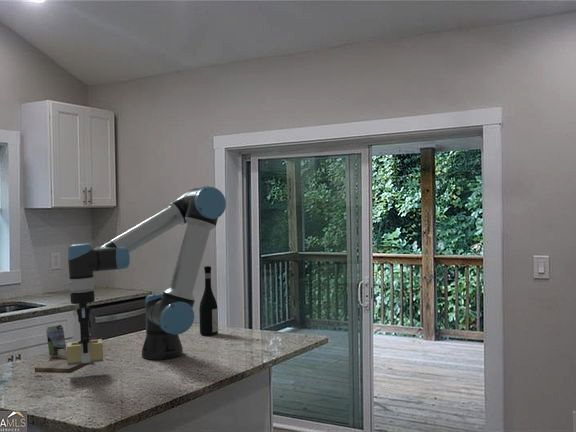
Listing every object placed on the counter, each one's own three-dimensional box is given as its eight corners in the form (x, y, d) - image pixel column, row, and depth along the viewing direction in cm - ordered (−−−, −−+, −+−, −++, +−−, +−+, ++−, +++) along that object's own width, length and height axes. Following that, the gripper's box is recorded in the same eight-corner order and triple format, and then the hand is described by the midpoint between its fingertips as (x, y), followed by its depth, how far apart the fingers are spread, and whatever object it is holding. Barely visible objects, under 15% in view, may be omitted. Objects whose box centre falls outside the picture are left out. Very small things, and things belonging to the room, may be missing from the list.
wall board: (92, 361, 213) (92, 348, 213) (69, 372, 198) (69, 358, 198) (59, 360, 215) (59, 348, 215) (34, 371, 201) (34, 357, 201)
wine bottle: (218, 332, 263) (217, 265, 263) (217, 335, 255) (216, 266, 255) (200, 332, 263) (199, 265, 263) (198, 336, 255) (197, 267, 255)
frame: (102, 356, 199) (101, 338, 199) (103, 361, 193) (102, 343, 193) (68, 360, 196) (67, 342, 196) (67, 365, 189) (66, 346, 189)
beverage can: (60, 358, 218) (60, 326, 218) (42, 358, 220) (42, 326, 220) (70, 354, 225) (69, 323, 225) (52, 354, 226) (52, 323, 226)
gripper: (70, 288, 202) (74, 354, 203) (69, 295, 183) (73, 368, 184) (93, 286, 205) (97, 351, 205) (94, 293, 186) (98, 365, 186)
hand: (86, 359), depth 194 cm, fingers closed on frame, 7 cm apart
